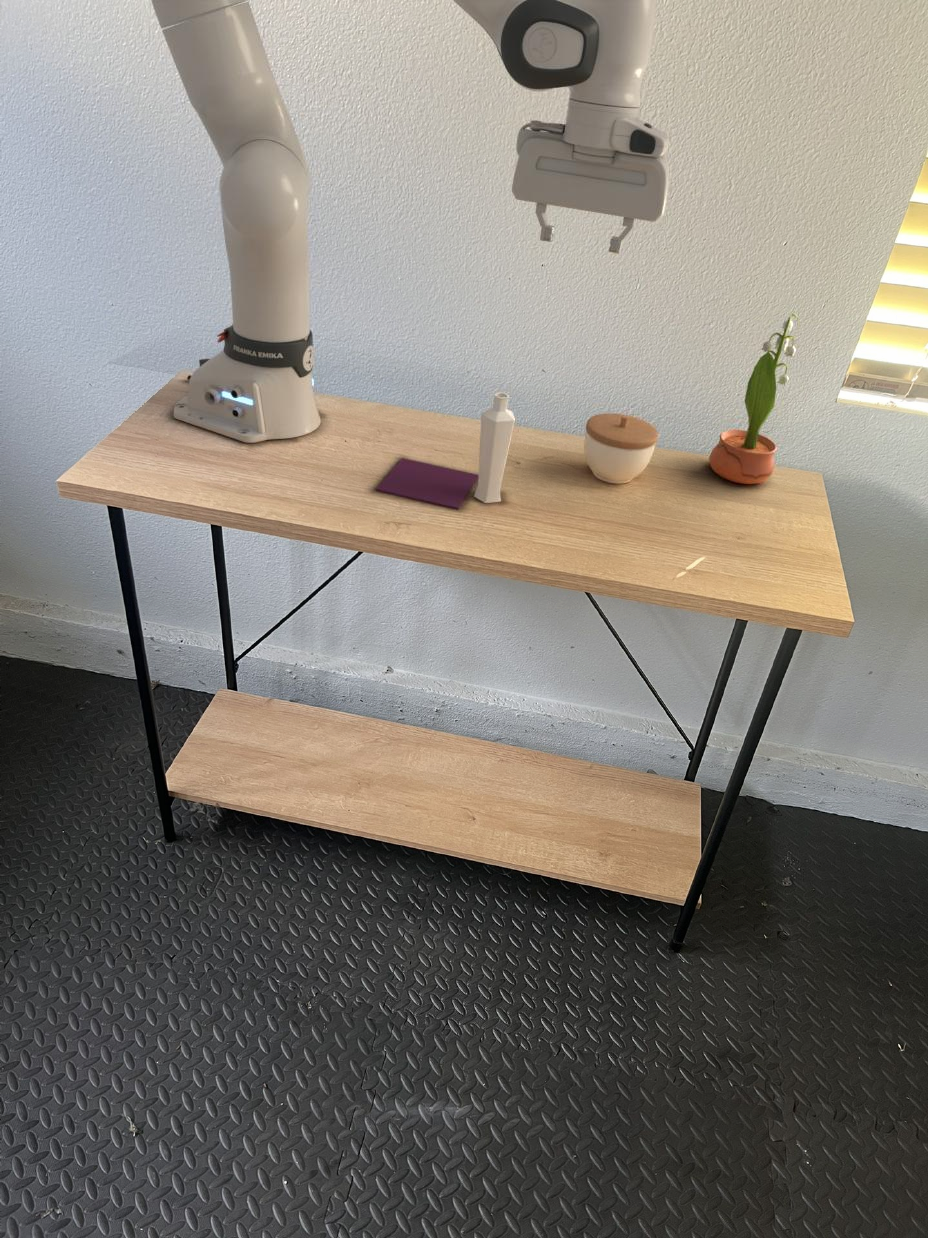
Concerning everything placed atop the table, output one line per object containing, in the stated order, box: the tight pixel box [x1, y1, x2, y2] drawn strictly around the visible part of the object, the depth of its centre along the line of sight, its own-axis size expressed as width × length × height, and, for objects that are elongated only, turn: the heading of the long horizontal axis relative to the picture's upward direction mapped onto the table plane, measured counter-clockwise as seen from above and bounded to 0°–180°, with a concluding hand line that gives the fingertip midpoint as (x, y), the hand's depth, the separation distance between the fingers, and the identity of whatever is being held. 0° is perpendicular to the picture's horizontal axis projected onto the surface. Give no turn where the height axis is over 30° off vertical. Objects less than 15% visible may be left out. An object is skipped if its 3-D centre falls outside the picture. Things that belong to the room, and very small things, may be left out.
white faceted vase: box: [473, 391, 516, 504], centre depth 116 cm, size 5×4×15 cm
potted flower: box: [708, 312, 800, 485], centre depth 129 cm, size 12×10×25 cm
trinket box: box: [583, 413, 659, 485], centre depth 128 cm, size 11×11×9 cm
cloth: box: [375, 457, 479, 510], centre depth 122 cm, size 12×11×1 cm
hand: (580, 246), depth 115 cm, fingers open, 8 cm apart
